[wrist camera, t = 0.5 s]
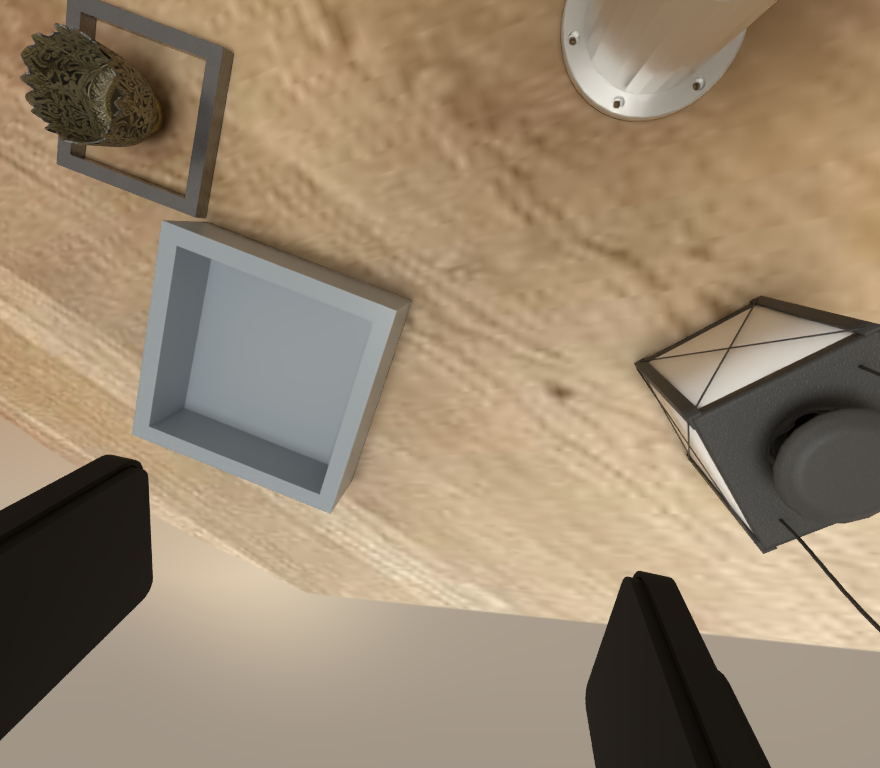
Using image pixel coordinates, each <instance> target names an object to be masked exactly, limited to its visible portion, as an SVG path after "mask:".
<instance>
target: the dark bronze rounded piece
mask: <svg viewBox="0 0 880 768" xmlns="http://www.w3.org/2000/svg"><path fill="white" fill-rule="evenodd" d="M54 28H55V29H56V30H57V31H58V32H52V35H51V36H46V35H43V34H41V33H36V34H33V35H32V39H33V40H34V42H35V44H33V45H29V46H27V47H26V48H25V49H24V50H23V51H22V52H21V57H22V59H23V61H24V63H25V65H26V66H27V68H28V70H29V72H28V73H30V74H23V75H22V76H21V77H20V79H21V80H22V81H23V82H24V83H26V84H27V85H29V86H30V87H32V88H33V89H34V90H35V91H34V90H33V91H30V92H28V93H26V95H25V98H26V100H27V101H28V102H29V104H30V105H31V106H34V108H33V109H32V110H31V112H32V113H34V114H35V115H36V116H38V117H40V118H41V119H43V121H45V122H47V123H50V124H49V125H48V126H46V127H45V129H46V130H48V131H50V132H53V133H57V134H58V135H59V138H60V139H61V140H62V141H64V142H67V143H72V144H79V145H93V146H108V147H125V146H132V145H136V144H138V143H140V142H142V141H144V140H145V139H146V138H147V137H148V136H149V135H150V134H153V133H155V132H157V131H158V130H159V129H160V127H161V126H162V123H163V118H164V114H163V109H162V106H161V104H160V102H159V100H158V99H157V97H156V96H155V95H154V93H153V91H152V89H151V87H150V85H149V83H148V82H147V80H146V79H145V78H144V77H143V75H142V74H141V73H140V72H139V71H138V70H137V69H136V68H135V67H134V66H132V65H131V64H130V63H129V62H127V61H126V60H125V59H123V58H122V57H120V56H119V55H118V54H116V53H114V52H113V51H111V50H110V49H108V48H107V47H105V46H103V45H102V44H100V43H99V42H97V41H95V40H94V39H92V38H90V37H89V36H87V35H86V34H85V33H83V32H82V31H80V30H79V29H77V28H74V27H72V28H68V27H66V26H64V25H61V24H58V23H55V24H54ZM25 73H26V72H25Z"/></svg>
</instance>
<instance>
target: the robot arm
mask: <svg viewBox="0 0 880 768" xmlns="http://www.w3.org/2000/svg"><path fill="white" fill-rule="evenodd" d="M777 1H778V0H566V2H565V6H564V11H563V17H562V23H561V46H562V53H563V60H564V63H565V66H566V69H567V72H568V75H569V77H570V79H571V81H572V82H573V84H574V86H575V88H576V90H577V91H578V92H579V93H580V94H581V96H582V97H583V98H584V99H585V100H586V101H587V102H588V103H589V104H590V105H592V106H593V107H594V108H596V109H597V110H599V111H600V112H602V113H604V114H606V115H609V116H611V117H613V118H617V119H622V120H627V121H649V120H654V119H658V118H663V117H666V116H668V115H671V114H673V113H675V112H678V111H680V110H682V109H683V108H685V107H687V106H688V105H690V104H691V103H693V102H694V101H696V100H697V99H699V98H700V97H701V96H703V95H704V94H705V93H706V92H707V91H709V90H710V88H711V87H712V86H713V85H714V84H715V83H716V82H717V81H718V80H719V79H720V78H721V77H722V76H723V74H724V73H725V72H726V70H727V69H728V67H729V66H730V64H731V63H732V61H733V60H734V59H735V57H736V55H737V52H738V50H739V48H740V46H741V44H742V42H743V40H744V37H745V34H746V31H747V28H748V26H749V25H750V24H752V23H753V22H754V21H755V20H756V19H757V18H758V17H760V16H761V15H762V14H763V13H764V12H765V11H766V10H768V9H769V8H770V7H771V6H772V5H773V4H774V3H775V2H777ZM571 39H574V40H575V41H576V44H575V45H570V44H569V41H570V40H571ZM693 84H696V85H697V86H698V89H697V90H694V89H693V86H692V85H693ZM614 102H618V103H619V108H614V106H613V103H614ZM152 582H153V570H152V549H151V527H150V505H149V483H148V474H147V472H146V471H145V470H143V467H142V465H141V463H140V462H138V461H137V460H133V459H128V458H124V457H119V456H115V455H104V456H101V457H99V458H98V459H96V460H94V461H92V462H90V463H88V464H86V465H84V466H83V467H81V468H79V469H77V470H75V471H73V472H72V473H70V474H68V475H66V476H64V477H62V478H60V479H58V480H57V481H55V482H53V483H51V484H49V485H47V486H45V487H43V488H41V489H40V490H38V491H36V492H34V493H32V494H30V495H29V496H27V497H25V498H23V499H21V500H19V501H17V502H16V503H13V504H12V505H10V506H8V507H6V508H4V509H3V510H0V740H1V739H2V738H3V737H4V736H5V735H6V734H7V733H8V732H9V731H10V730H11V729H12V728H13V727H14V726H15V725H16V724H17V723H18V722H20V721H21V720H22V719H23V718H24V717H25V715H27V713H29V712H30V711H31V710H32V709H33V707H35V706H36V705H37V704H38V703H39V702H40V701H41V700H42V699H43V698H44V697H45V696H46V695H47V694H48V693H49V692H50V691H51V690H52V689H53V688H54V687H55V686H56V685H57V684H58V683H59V682H60V681H61V680H62V679H63V678H64V677H65V676H66V675H67V674H68V673H69V672H70V671H71V670H72V669H73V668H74V667H75V666H76V665H77V664H78V663H79V662H80V661H81V660H82V659H83V658H84V657H85V656H86V655H87V654H88V653H89V652H90V651H91V650H92V649H93V648H95V646H96V645H98V643H100V642H101V641H102V640H103V639H104V637H106V636H107V635H108V634H109V633H110V632H111V631H112V630H113V629H114V628H115V627H116V626H117V625H118V624H119V623H120V622H121V621H122V620H123V619H124V618H125V617H126V616H127V615H128V614H129V613H130V612H131V611H132V610H133V609H134V608H135V607H136V606H137V605H138V604H139V603H140V602H141V601H142V600H143V599H144V598H145V597H146V595H147V594H148V592H149V590H150V588H151V585H152ZM585 699H586V711H587V717H588V723H589V730H590V736H591V742H592V748H593V754H594V760H595V766H596V768H771V767H770V765H769V762H768V760H767V758H766V756H765V754H764V752H763V750H762V748H761V747H760V744H759V742H758V740H757V738H756V736H755V734H754V732H753V730H752V728H751V726H750V724H749V722H748V720H747V718H746V716H745V714H744V712H743V710H742V708H741V706H740V704H739V702H738V700H737V698H736V696H735V694H734V692H733V690H732V688H731V686H730V684H729V682H728V681H727V679H726V678H725V676H724V675H723V674H722V673H721V672H720V671H718V670H717V668H716V666H715V664H714V662H713V660H712V657H711V655H710V653H709V651H708V649H707V647H706V645H705V643H704V641H703V639H702V637H701V635H700V633H699V631H698V628H697V626H696V624H695V622H694V620H693V618H692V616H691V614H690V612H689V610H688V608H687V606H686V604H685V602H684V599H683V597H682V595H681V593H680V591H679V589H678V587H677V585H676V583H675V582H674V580H673V579H672V578H670V577H666V576H661V575H657V574H652V573H647V572H643V571H637V572H636V573H635V574H634V576H633V578H632V577H625V578H624V579H623V581H622V584H621V587H620V590H619V593H618V595H617V598H616V601H615V604H614V607H613V610H612V613H611V616H610V619H609V622H608V625H607V628H606V631H605V634H604V637H603V640H602V642H601V645H600V648H599V651H598V654H597V657H596V660H595V663H594V666H593V669H592V672H591V675H590V678H589V681H588V684H587V688H586V698H585Z"/></svg>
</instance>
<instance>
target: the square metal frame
mask: <svg viewBox="0 0 880 768" xmlns="http://www.w3.org/2000/svg"><path fill="white" fill-rule="evenodd" d="M96 20H98V21H101V22H104V23H106V24H109V25H112V26H114V27H117V28H120V29H122V30H125V31H128V32H130V33H133V34H136V35H138V36H141V37H144V38H146V39H149V40H152V41H154V42H157V43H160V44H162V45H165V46H168V47H170V48H173V49H176V50H178V51H181V52H184V53H186V54H189V55H192V56H194V57H197V58H200V59H202V60H205V61H206V66H205V72H204V79H203V85H202V92H201V98H200V105H199V111H198V118H197V124H196V130H195V137H194V143H193V150H192V156H191V163H190V169H189V176H188V182H187V189H186V195H185V196H184V195H182V194H179V193H176V192H174V191H171V190H169V189H166V188H163V187H161V186H158V185H156V184H153V183H150V182H148V181H145V180H143V179H140V178H137V177H135V176H132V175H130V174H127V173H124V172H122V171H119V170H116V169H114V168H111V167H109V166H106V165H103V164H101V163H98V162H96V161H93V160H90V159H88V158H85V147H86V145H79V144H72V143H67V142H64V141H62V140H61V139H60V138H59V137H58V152H57V164H58V165H61V166H63V167H66V168H69V169H71V170H74V171H76V172H79V173H82V174H84V175H87V176H89V177H92V178H94V179H97V180H100V181H102V182H105V183H107V184H110V185H113V186H115V187H118V188H120V189H123V190H126V191H128V192H131V193H133V194H136V195H139V196H141V197H144V198H146V199H149V200H152V201H154V202H157V203H159V204H162V205H165V206H167V207H170V208H172V209H175V210H178V211H180V212H183V213H185V214H188V215H191V216H193V217H198V218H206V213H207V207H208V202H209V196H210V190H211V184H212V178H213V173H214V167H215V161H216V155H217V149H218V143H219V138H220V132H221V126H222V120H223V114H224V108H225V103H226V97H227V91H228V85H229V79H230V73H231V68H232V62H233V56H234V54H233V53H231V52H230V51H228V50H227V49H225V48H224V47H221V46H219V45H216V44H213V43H211V42H208V41H205V40H203V39H200V38H197V37H195V36H192V35H189V34H187V33H184V32H181V31H179V30H176V29H173V28H171V27H168V26H165V25H163V24H160V23H157V22H155V21H152V20H149V19H147V18H144V17H141V16H139V15H136V14H133V13H131V12H128V11H125V10H123V9H120V8H117V7H115V6H112V5H109V4H107V3H104V2H101V1H99V0H67V14H66V27H68V28H72V27H74V28H77V29H79V30H80V31H82V32H83V33H85V34H86V35H87V36H89V37H90V38H92V39H95V28H96Z"/></svg>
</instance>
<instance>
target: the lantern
mask: <svg viewBox="0 0 880 768" xmlns="http://www.w3.org/2000/svg"><path fill="white" fill-rule="evenodd" d="M750 303H751V304H749V305H747V306H745V307H743V308H741V309H740V310H738V311H736V312H734V313H732V314H730V315H728V316H726V317H725V318H723V319H721V320H719V321H717V322H715V323H713V324H711V325H710V326H708V327H706V328H704V329H702V330H700V331H698V332H696V333H694V334H693V335H691V336H689V337H687V338H685V339H683V340H681V341H679V342H678V343H676V344H674V345H672V346H670V347H668V348H666V349H664V350H663V351H661V352H659V353H657V354H655V355H653V356H651V357H649V358H647V359H646V360H645V359H644V358H643V359H641V360H640V361H638V362H636V363H634V364H635V366H636V367H637V370H638V372H639V373H640V375H641V376H642V375H643V376H642V378H643V379H644V378H645V379H646V380H645V379H644V381H645V382H646V381H647V382H648V383H647V382H646V384H647V385H648V384H649V385H648V387H649V388H650V390H651V391H652V393H653V394H654V396H655V397H656V398H657V400H658V402H659V403H660V405H661V407H662V409H663V410H664V412H665V414H666V416H667V417H668V419H669V421H670V423H671V424H672V426H673V428H674V430H675V431H676V433H677V435H678V437H679V438H680V440H681V442H682V444H683V446H684V447H685V449H686V451H687V453H688V454H686V455H687V457H688V460H690V462H691V463H692V464H693V466H694V467H695V468H696V470H697V471H698V472H699V473H700V475H701V476H702V477H703V478H704V480H705V481H706V482H707V483H708V485H709V486H710V487H711V488H712V490H713V491H714V492H715V493H716V495H717V496H718V497H719V499H720V500H721V501H722V502H723V504H724V505H725V506H726V507H727V509H728V510H729V511H730V512H731V514H732V515H733V516H734V517H735V519H736V520H737V521H738V522H739V524H740V525H741V526H742V527H743V529H744V530H745V531H746V533H747V534H748V535H749V536H750V538H751V539H752V540H753V541H754V543H755V544H756V545H757V546H758V548H759V549H760V550H761V551H762V553H763V554H764V553H767V552H770V551H772V550H775V549H777V547H776V546H778V545H781V544H784V543H786V542H789V541H791V540H794V539H797V540H798V541H799V542H800V543H801V544H802V546H803V547H804V548H805V549H806V550H807V551H808V552H809V554H810V555H811V556H812V557H813V559H814V560H815V561H816V562H817V563H818V564H819V566H820V567H821V568H822V569H823V571H824V572H825V573H826V574H827V575H828V576H829V578H830V579H831V580H832V581H833V582H834V583H835V585H836V586H837V587H838V588H839V589H840V591H841V592H842V593H843V594H844V595H845V596H846V597H847V598H848V599H849V600H850V602H851V603H852V604H853V605H854V606H855V607H856V608H857V609H858V611H859V612H860V613H861V614H862V615H863V616H864V617H865V618H866V619H867V620H868V621H869V622H870V623H871V624H872V625H873V626H874V627H875V628H876V629H877V630H878V631H879V632H880V626H879V625H878V624H877V623H876V622H875V621H874V620H873V619H872V618H871V617H870V616H869V615H868V614H867V613H866V612H865V611H864V610H863V609H862V607H861V606H860V605H859V604H858V603H857V602H856V601H855V600H854V599H853V598H852V596H851V595H850V594H849V593H848V592H847V591H846V590H845V589H844V588H843V587H842V585H841V584H840V583H839V582H838V581H837V579H836V578H835V577H834V576H833V575H832V574H831V573H830V572H829V571H828V569H827V568H826V567H825V566H824V564H823V563H822V562H821V561H820V560H819V559H818V558H817V556H816V555H815V554H814V553H813V551H812V550H811V549H810V548H809V547H808V546H807V545H806V543H805V542H804V541H803V540H802V539H801V538H800V537H802V536H804V535H807V534H810V533H812V532H815V531H818V530H820V529H823V528H825V527H828V526H831V525H833V524H836V523H849V522H853V521H857V520H861V519H865V518H869V517H871V516H873V515H875V514H877V513H879V512H880V324H876V323H872V322H868V321H863V320H859V319H855V318H851V317H847V316H843V315H839V314H834V313H830V312H826V311H822V310H818V309H814V308H810V307H805V306H801V305H797V304H793V303H789V302H785V301H780V300H776V299H772V298H768V297H764V296H760V297H758V298H756V299H754V300H752V301H750Z"/></svg>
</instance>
